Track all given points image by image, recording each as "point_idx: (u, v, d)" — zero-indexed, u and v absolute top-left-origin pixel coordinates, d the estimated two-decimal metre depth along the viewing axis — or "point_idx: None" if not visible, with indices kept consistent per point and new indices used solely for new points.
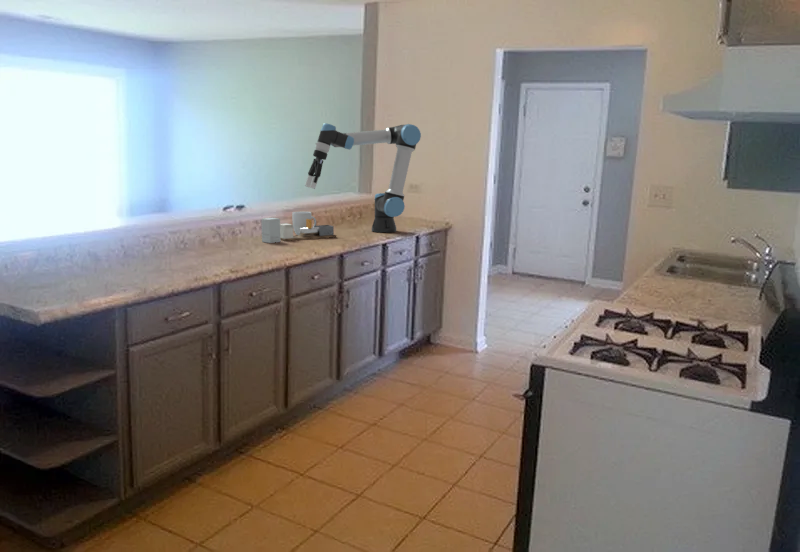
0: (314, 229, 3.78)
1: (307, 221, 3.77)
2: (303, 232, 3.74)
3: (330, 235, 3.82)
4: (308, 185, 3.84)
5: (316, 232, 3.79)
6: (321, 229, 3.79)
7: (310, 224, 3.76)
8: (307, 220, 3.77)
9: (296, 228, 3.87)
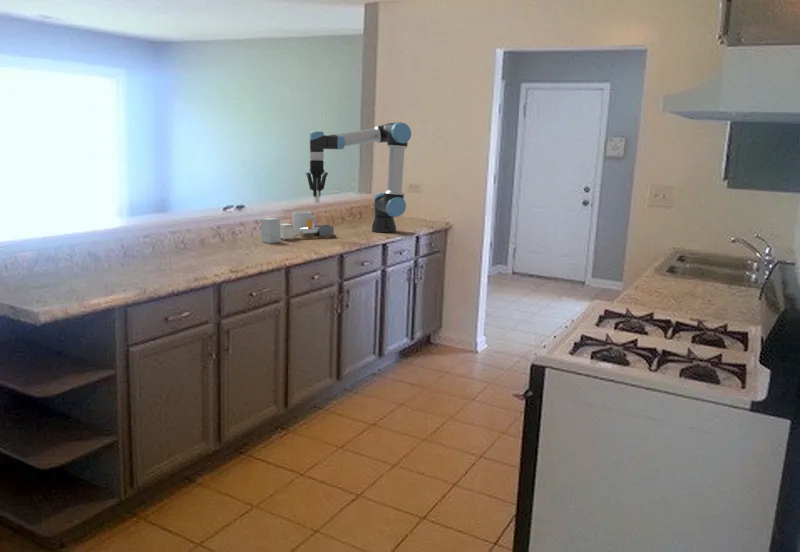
0: (314, 229, 3.78)
1: (307, 221, 3.77)
2: (303, 232, 3.74)
3: (330, 235, 3.82)
4: None
5: (316, 232, 3.79)
6: (321, 229, 3.79)
7: (310, 224, 3.76)
8: (307, 220, 3.77)
9: (296, 228, 3.87)
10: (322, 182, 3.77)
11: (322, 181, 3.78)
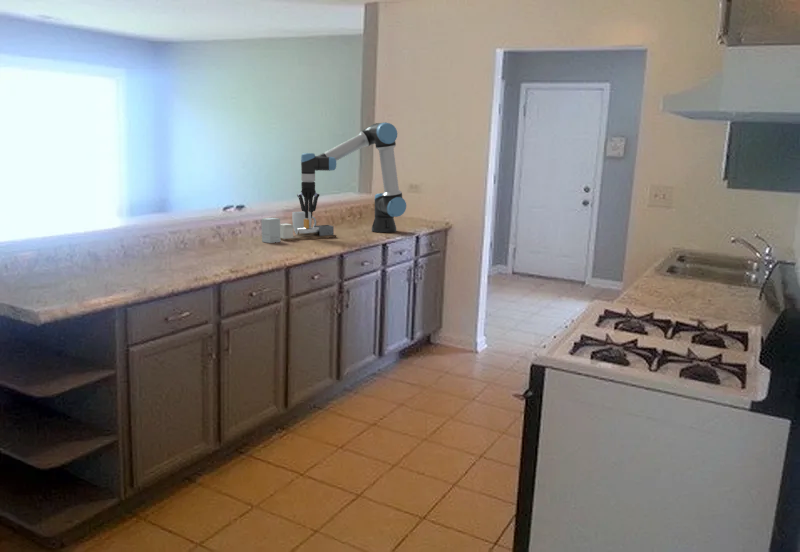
0: (312, 229, 3.77)
1: (305, 221, 3.76)
2: (300, 232, 3.73)
3: (330, 235, 3.82)
4: None
5: (314, 232, 3.78)
6: (321, 229, 3.79)
7: (308, 224, 3.75)
8: (305, 220, 3.76)
9: (296, 228, 3.87)
10: (314, 203, 3.77)
11: (314, 202, 3.77)
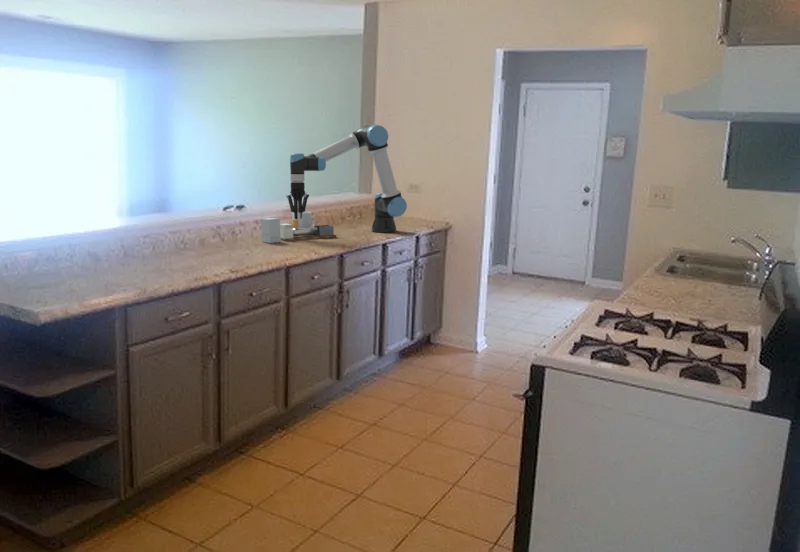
0: (301, 230, 3.74)
1: (294, 222, 3.72)
2: None
3: (330, 235, 3.82)
4: (298, 223, 3.73)
5: (303, 233, 3.74)
6: (321, 229, 3.79)
7: (297, 225, 3.72)
8: (294, 221, 3.72)
9: None
10: (303, 204, 3.73)
11: (303, 203, 3.73)
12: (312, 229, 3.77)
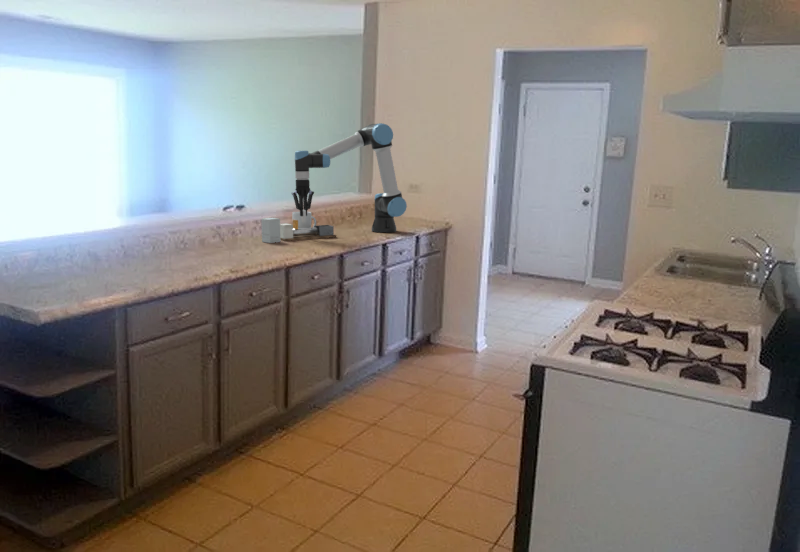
0: (301, 230, 3.73)
1: (294, 222, 3.72)
2: None
3: (330, 235, 3.82)
4: None
5: (303, 233, 3.74)
6: (321, 229, 3.79)
7: (297, 225, 3.71)
8: (294, 221, 3.72)
9: None
10: (308, 201, 3.75)
11: (308, 200, 3.75)
12: (312, 229, 3.77)
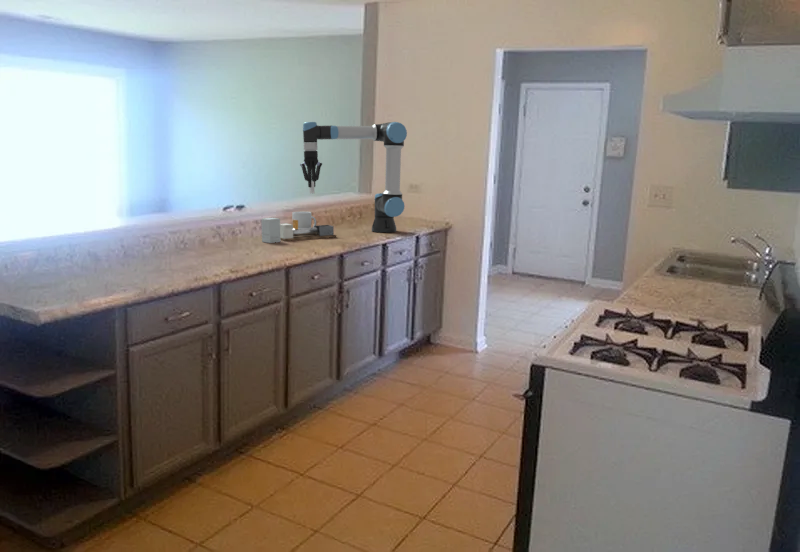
0: (301, 230, 3.73)
1: (294, 222, 3.72)
2: None
3: (330, 235, 3.82)
4: None
5: (303, 233, 3.74)
6: (321, 229, 3.79)
7: (297, 225, 3.71)
8: (294, 221, 3.72)
9: None
10: (317, 172, 3.78)
11: (317, 171, 3.78)
12: (312, 229, 3.77)
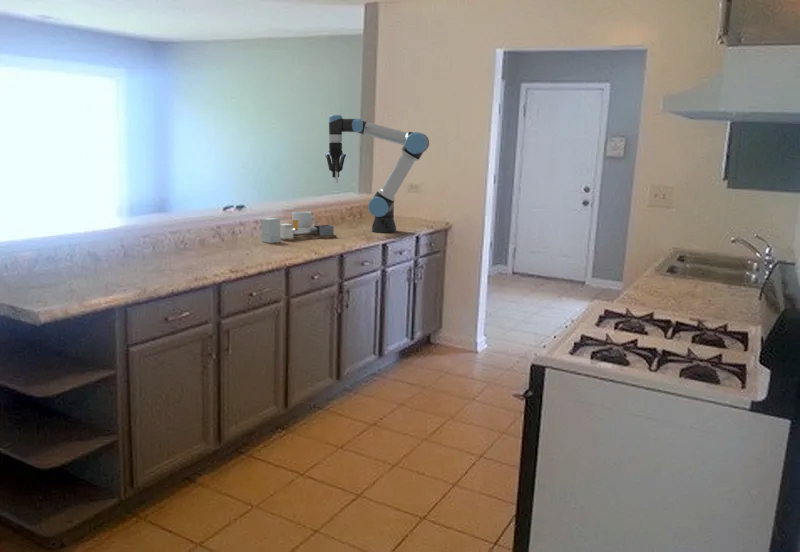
0: (301, 230, 3.73)
1: (294, 222, 3.72)
2: None
3: (330, 235, 3.82)
4: None
5: (303, 233, 3.74)
6: (321, 229, 3.79)
7: (297, 225, 3.71)
8: (294, 221, 3.72)
9: None
10: (341, 163, 3.97)
11: (340, 162, 3.98)
12: (312, 229, 3.77)
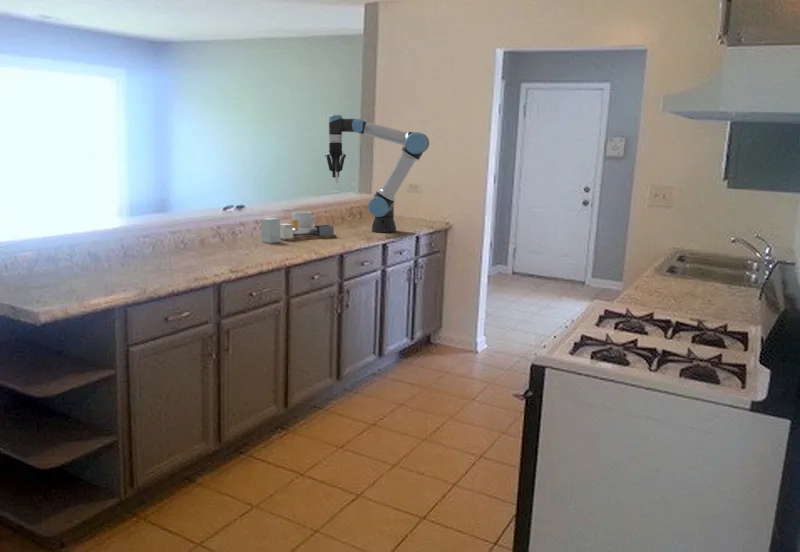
0: (301, 230, 3.73)
1: (294, 222, 3.72)
2: None
3: (330, 235, 3.82)
4: None
5: (303, 233, 3.74)
6: (321, 229, 3.79)
7: (297, 225, 3.71)
8: (294, 221, 3.72)
9: None
10: (341, 163, 3.97)
11: (341, 162, 3.98)
12: (312, 229, 3.77)
